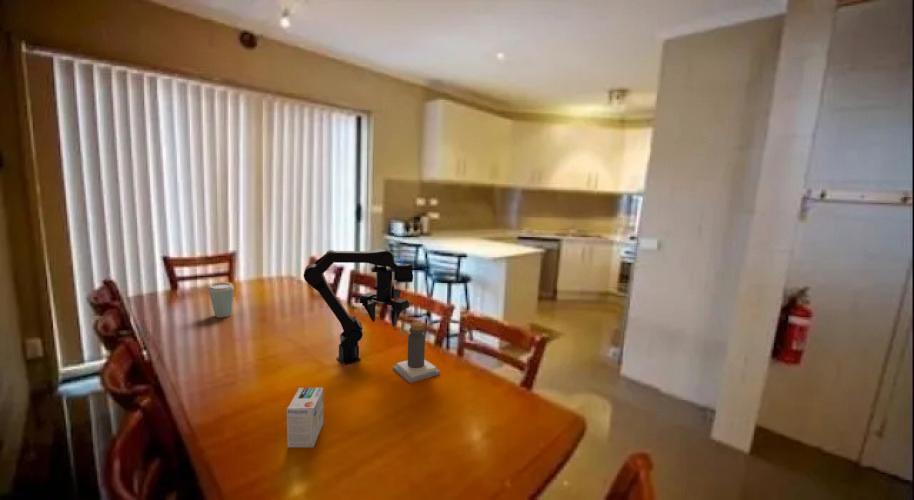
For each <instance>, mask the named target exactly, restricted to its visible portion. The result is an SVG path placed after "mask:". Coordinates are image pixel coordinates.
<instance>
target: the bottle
mask: <svg viewBox="0 0 914 500" xmlns="http://www.w3.org/2000/svg"><path fill="white" fill-rule="evenodd" d="M424 324H425V323H424V322H421V321H414V322H413V321H412V322H411V323H409V325H410V328H409V333H410V334H408V336H407V337H408V338H407V360H408V366H409V367H411V368H420V367H423V366H424V359H425V354H426V353H425V352H426V351H425V349H426V336H425V334H424V332H425V328H424V326H425V325H424Z"/></svg>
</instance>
